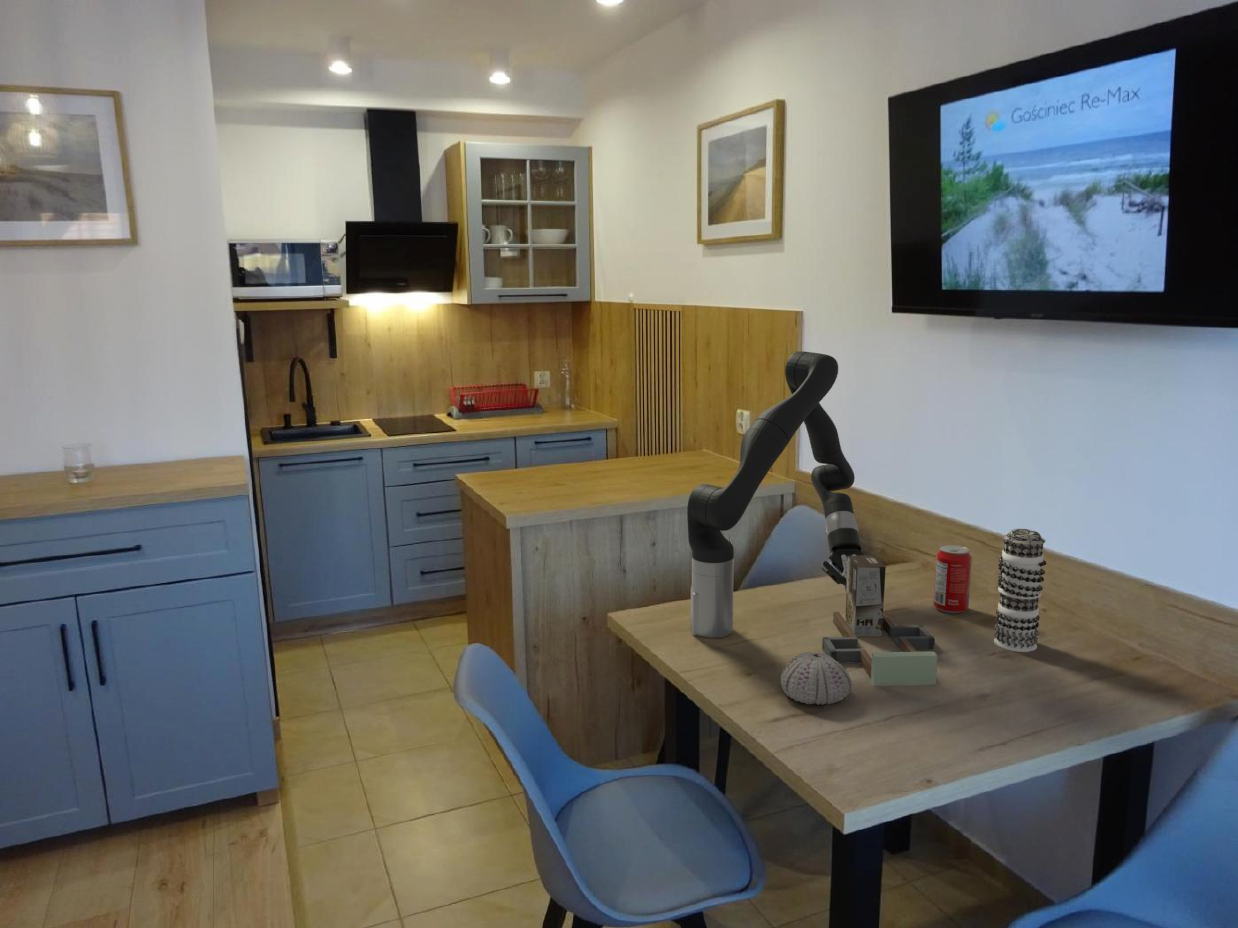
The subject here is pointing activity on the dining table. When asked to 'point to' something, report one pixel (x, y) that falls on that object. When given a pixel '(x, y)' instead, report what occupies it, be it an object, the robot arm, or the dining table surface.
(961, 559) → the soda can
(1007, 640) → the white grey tall cylinder
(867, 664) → the walnut lane
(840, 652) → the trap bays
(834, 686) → the sea urchin shell
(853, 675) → the dining table surface
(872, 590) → the coffee box
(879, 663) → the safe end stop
